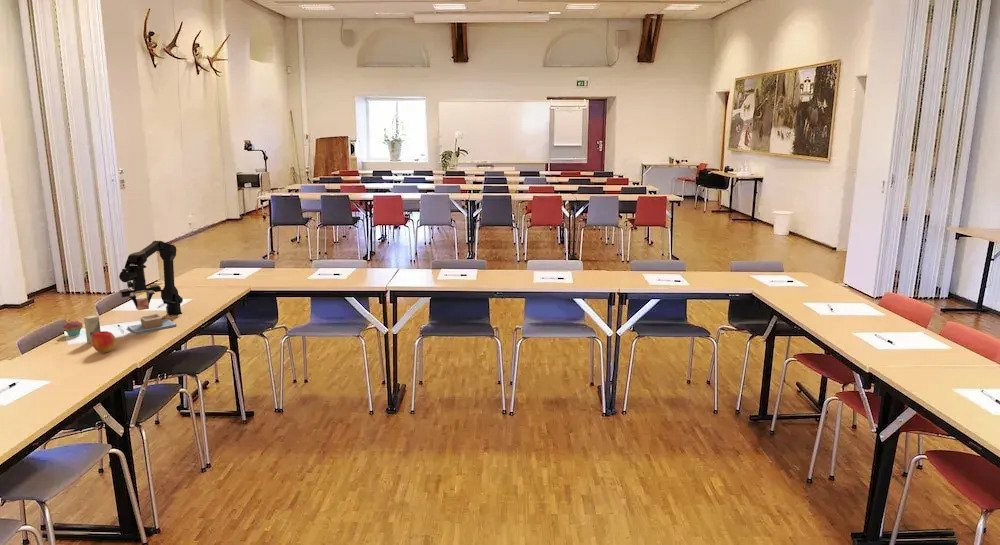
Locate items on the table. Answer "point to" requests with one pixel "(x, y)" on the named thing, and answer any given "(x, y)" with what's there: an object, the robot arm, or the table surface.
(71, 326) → the cupcake
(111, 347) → the apple
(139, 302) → the terracotta block
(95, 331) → the box
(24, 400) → the table surface
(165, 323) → the blueprint board
